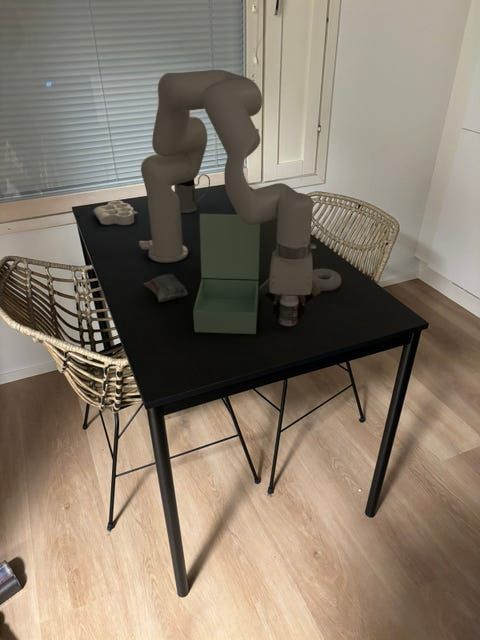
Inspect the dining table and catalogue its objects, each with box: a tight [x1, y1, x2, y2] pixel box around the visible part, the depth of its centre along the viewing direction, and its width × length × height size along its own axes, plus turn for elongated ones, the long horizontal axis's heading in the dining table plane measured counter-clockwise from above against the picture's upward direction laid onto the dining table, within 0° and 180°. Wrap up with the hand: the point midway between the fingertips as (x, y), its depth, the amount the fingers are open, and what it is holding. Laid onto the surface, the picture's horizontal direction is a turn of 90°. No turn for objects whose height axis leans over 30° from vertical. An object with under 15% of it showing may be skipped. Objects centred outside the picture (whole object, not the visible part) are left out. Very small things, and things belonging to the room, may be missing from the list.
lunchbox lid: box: [199, 213, 261, 281], centre depth 129 cm, size 17×15×5 cm
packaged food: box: [143, 273, 189, 303], centre depth 136 cm, size 9×12×5 cm
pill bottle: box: [278, 294, 299, 327], centre depth 121 cm, size 5×5×8 cm
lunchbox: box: [192, 278, 260, 335], centre depth 127 cm, size 16×15×6 cm
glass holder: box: [173, 173, 211, 214], centre depth 189 cm, size 9×14×15 cm, turn 82°
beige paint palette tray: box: [92, 200, 139, 226], centre depth 185 cm, size 3×18×15 cm
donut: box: [312, 268, 342, 292], centre depth 141 cm, size 10×4×10 cm
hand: (288, 315), depth 123 cm, fingers closed on pill bottle, 4 cm apart
